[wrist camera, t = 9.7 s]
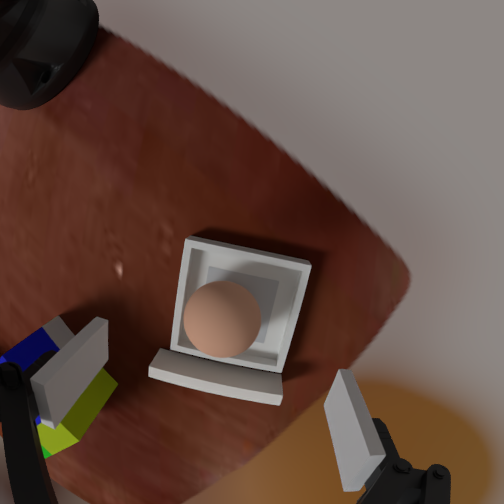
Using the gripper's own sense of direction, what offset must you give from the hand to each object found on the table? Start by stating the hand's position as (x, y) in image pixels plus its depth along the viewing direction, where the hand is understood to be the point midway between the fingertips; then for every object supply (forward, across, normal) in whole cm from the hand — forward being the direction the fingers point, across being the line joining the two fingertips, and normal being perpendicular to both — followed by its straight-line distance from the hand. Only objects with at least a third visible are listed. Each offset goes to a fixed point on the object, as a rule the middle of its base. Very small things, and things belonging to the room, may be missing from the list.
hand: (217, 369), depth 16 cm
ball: (+11, 0, -1) cm, 11 cm away
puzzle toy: (+12, -18, -14) cm, 26 cm away
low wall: (+11, 0, -8) cm, 14 cm away
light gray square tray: (+12, 0, -1) cm, 12 cm away
